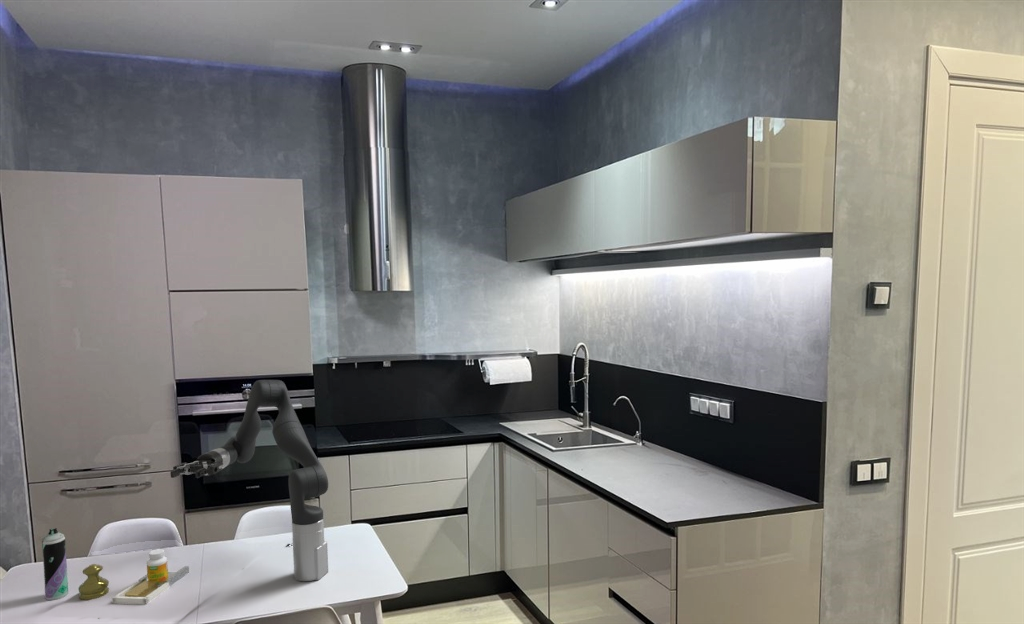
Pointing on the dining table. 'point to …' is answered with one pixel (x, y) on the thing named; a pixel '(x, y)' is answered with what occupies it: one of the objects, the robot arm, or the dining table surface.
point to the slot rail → (171, 576)
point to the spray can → (55, 565)
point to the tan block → (137, 592)
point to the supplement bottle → (157, 567)
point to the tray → (138, 600)
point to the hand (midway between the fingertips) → (184, 474)
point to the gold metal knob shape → (93, 584)
